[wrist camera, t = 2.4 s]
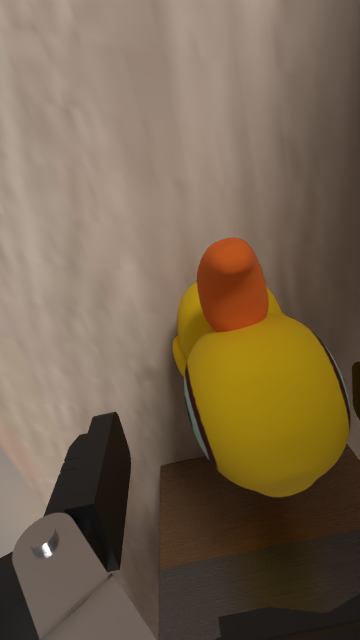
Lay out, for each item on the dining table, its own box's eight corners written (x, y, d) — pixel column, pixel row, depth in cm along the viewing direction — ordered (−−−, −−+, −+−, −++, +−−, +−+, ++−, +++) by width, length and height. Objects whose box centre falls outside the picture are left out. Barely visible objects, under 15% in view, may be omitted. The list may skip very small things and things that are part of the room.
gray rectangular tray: (335, 429, 20) (465, 601, 11) (346, 591, 25) (438, 789, 17) (160, 466, 20) (158, 660, 12) (209, 618, 26) (231, 825, 17)
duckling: (138, 238, 15) (99, 297, 6) (248, 202, 15) (387, 205, 6) (204, 424, 19) (242, 637, 10) (292, 399, 19) (417, 594, 10)
